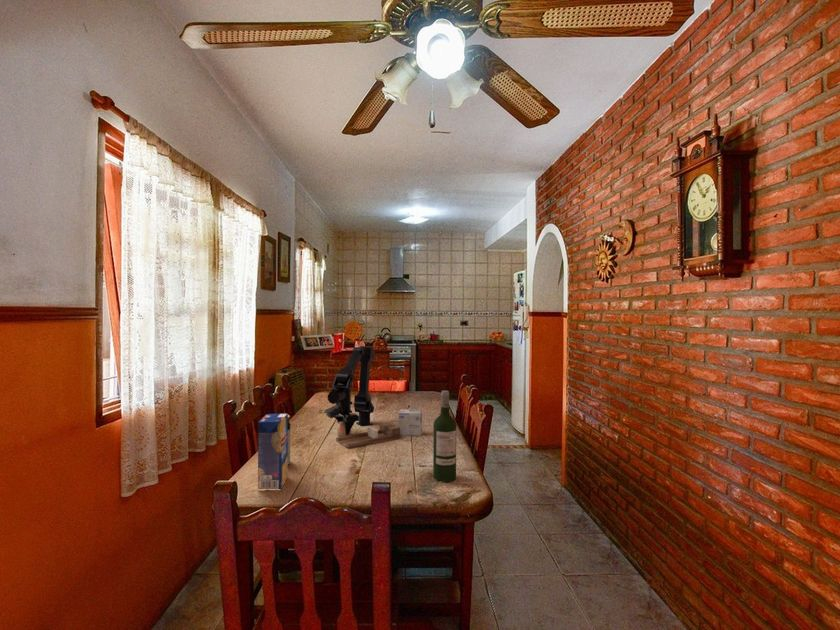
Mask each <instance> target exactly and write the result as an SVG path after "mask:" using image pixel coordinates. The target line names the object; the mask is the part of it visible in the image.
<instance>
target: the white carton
mask: <svg viewBox="0 0 840 630" xmlns="http://www.w3.org/2000/svg"><path fill="white" fill-rule="evenodd" d="M422 411H423V410H422V409H402V408H401V409H399V410H398V417H397V420H398V422H397V423H398V424H397V425H398V426H397V427H399V428H400V436H417V437H418V436H419V437H421V436H422V432H423V412H422Z"/></svg>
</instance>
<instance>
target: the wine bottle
mask: <svg viewBox="0 0 840 630" xmlns="http://www.w3.org/2000/svg"><path fill="white" fill-rule="evenodd" d="M440 396H441V397H440V398H441V399H440V400H441V401H440V414H439V415H438V416H437V417H436V418H435V420H434V422H433V443H432V444H433V454H432V457H433V458H432V459H433V461H432V463H433V464H432V465H433V466H432V467H433V468H432V470H433V472H432V476H433V480H435V479H436V480H438V481H437V482H439V481H444V482H443V483H449V482H448V481H451V482H453V480H454V481H455V480H456V479H457V422H456V419H455V418H454V417H452V415H451V414H450V392H449V390H441V392H440ZM436 480H435V481H436Z"/></svg>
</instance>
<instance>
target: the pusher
mask: <svg viewBox="0 0 840 630" xmlns="http://www.w3.org/2000/svg"><path fill="white" fill-rule="evenodd" d="M378 430H379V429H376V428H373V427H371V426H367V432H368V436H370V437H372V438H377V437H378Z"/></svg>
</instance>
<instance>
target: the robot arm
mask: <svg viewBox="0 0 840 630" xmlns="http://www.w3.org/2000/svg"><path fill="white" fill-rule="evenodd" d="M350 354H351V355H350V356H349V358H348V360H347V362H346V363H345V365H344V367H342V368H340V369H339V371H338V372H337V374H336V375H335V377H334V380H333V383H332V387H331V391H330V392H328V394H327V401H328V402H329V403H330V404H333V406H331V407H329V408H327V409H325V413H326V415H327V417H328V418H329V419H333V418H334V419H335V420H336V422H337V424H338V423H339V422H341V421H342V422H343V423H344V424H345V432H346V435H349V432H350V430H352V429H353V426H354V424H356V425H359V426H361V427H363V426H371V425H373V422H371V414H373V413H374V411H375V406H374V405H373V402H372V397H371V395H370V392H369V389H370V388H369V387H370V385H369V384H370V374H371V373H370V372H371V364H372V362H373V361H374V359H375V354H376V349H375V348H374V346H369V345H368V346H367V345H361V346H355V347H353V349H352V352H351V353H350ZM359 363H360V369H359V386H358V392H357V393H356V395H354V397H353V398H354V401H352V400H351V398H352V397H351V396H352V395H351V394H352V393H351V392H352V391H351V389H353V386H352V384H353V382H354V380H355V371H356V369H357V367H358V365H359ZM334 404H335V405H334ZM351 405H353V408H354V413H353V410H351V407H352V406H351ZM356 413H358V414H356Z"/></svg>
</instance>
